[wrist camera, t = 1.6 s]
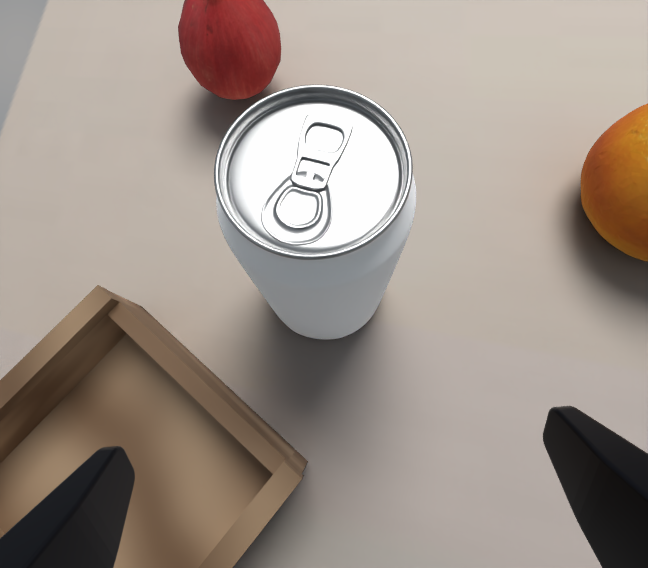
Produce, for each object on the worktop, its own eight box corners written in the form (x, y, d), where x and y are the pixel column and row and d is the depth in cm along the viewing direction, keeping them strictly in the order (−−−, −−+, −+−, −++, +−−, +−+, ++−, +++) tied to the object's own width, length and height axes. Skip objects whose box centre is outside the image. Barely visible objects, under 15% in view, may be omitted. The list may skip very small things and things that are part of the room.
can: (253, 322, 22) (161, 237, 11) (289, 221, 24) (244, 53, 12) (365, 356, 21) (397, 304, 10) (394, 249, 23) (450, 98, 11)
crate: (124, 698, 17) (59, 788, 13) (-41, 490, 20) (-136, 513, 16) (309, 462, 20) (301, 478, 16) (140, 305, 22) (97, 285, 18)
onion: (185, 99, 27) (123, -23, 19) (240, 45, 28) (203, -91, 20) (250, 142, 25) (212, 31, 18) (305, 83, 27) (291, -45, 19)
